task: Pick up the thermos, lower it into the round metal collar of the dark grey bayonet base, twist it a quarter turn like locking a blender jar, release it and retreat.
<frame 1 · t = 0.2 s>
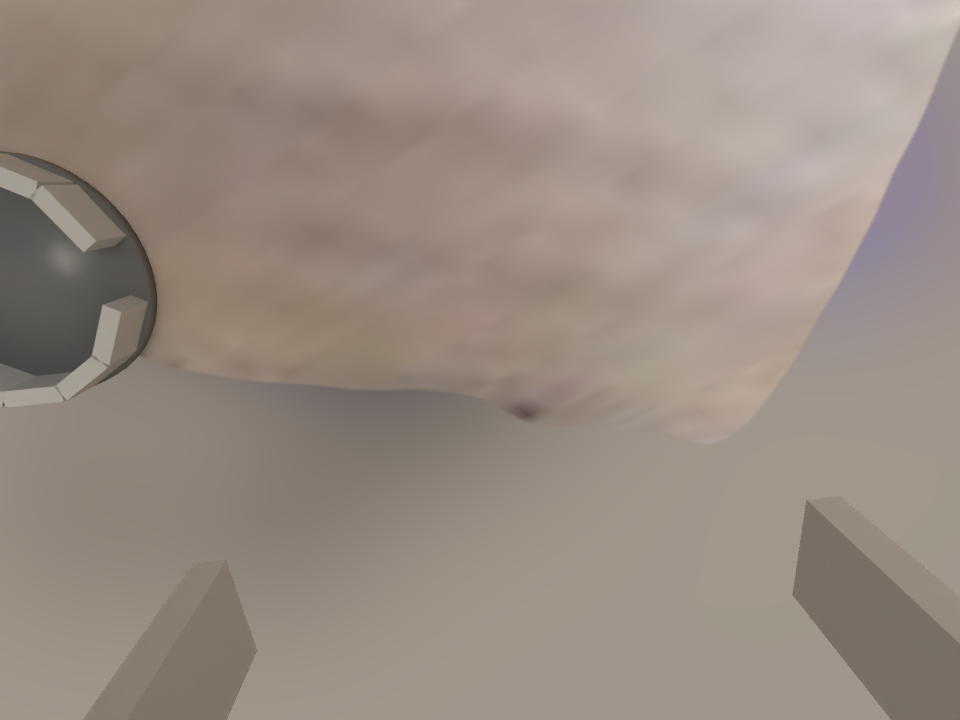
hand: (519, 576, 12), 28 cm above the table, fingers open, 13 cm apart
bayonet base: (34, 278, 36), on the table
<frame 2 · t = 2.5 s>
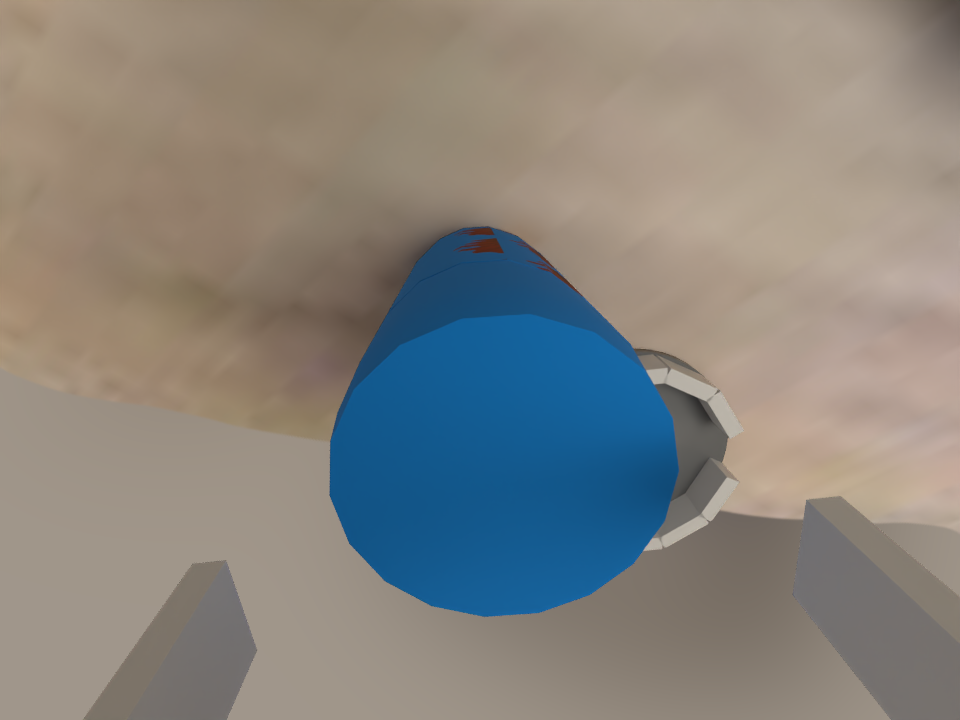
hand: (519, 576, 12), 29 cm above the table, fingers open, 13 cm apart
bayonet base: (623, 442, 43), on the table
thermos: (480, 295, 39), on the table
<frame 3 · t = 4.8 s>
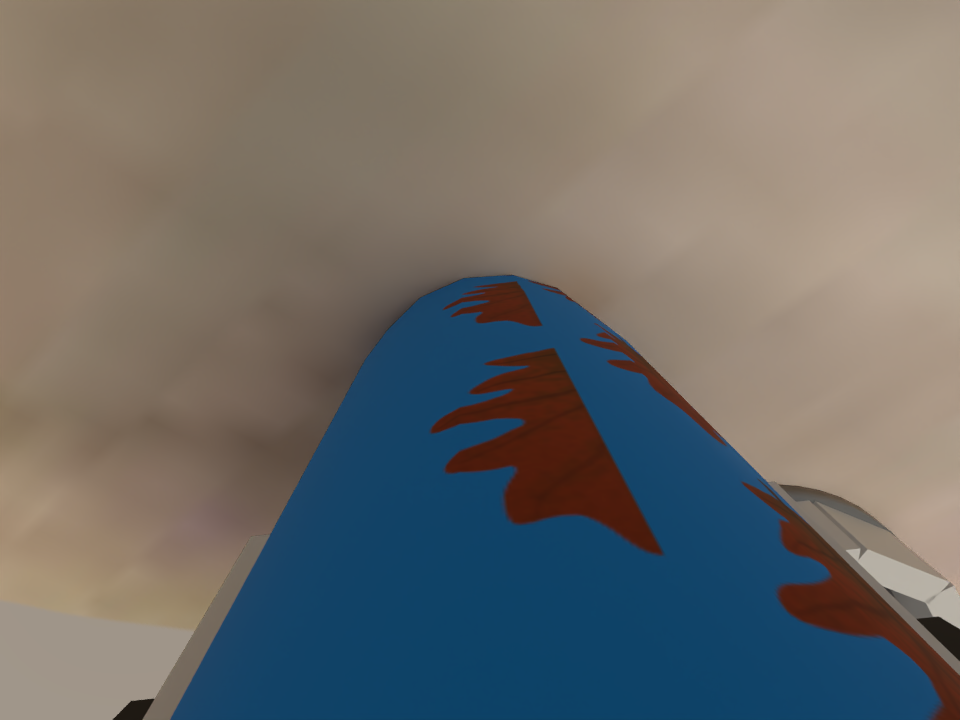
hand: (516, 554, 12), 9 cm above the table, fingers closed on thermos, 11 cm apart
bayonet base: (736, 628, 25), on the table
thermos: (494, 398, 21), on the table, touching gripper
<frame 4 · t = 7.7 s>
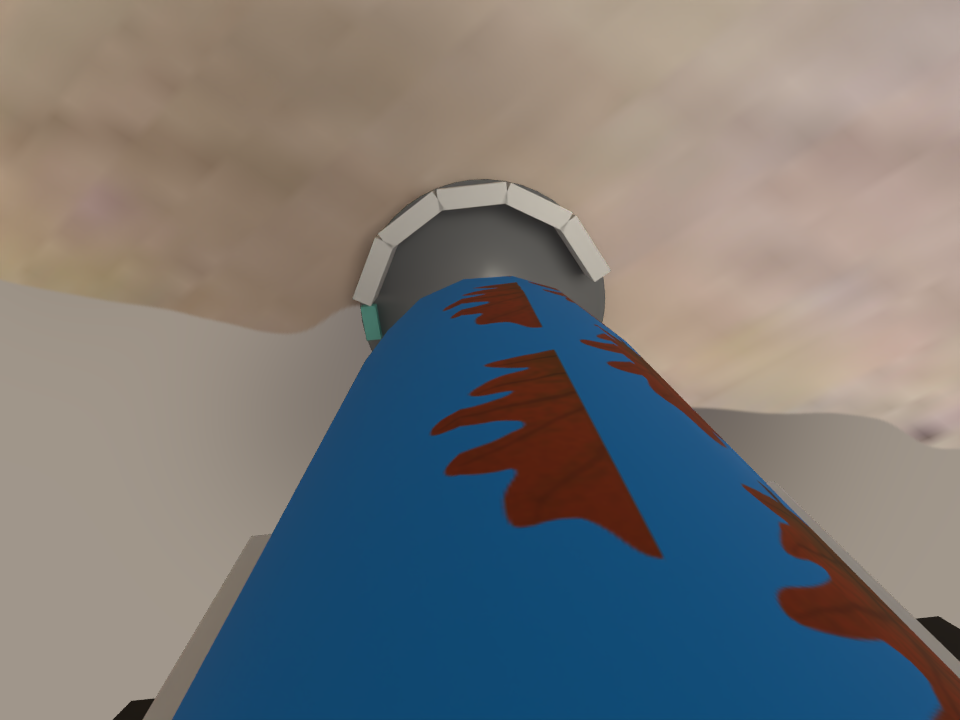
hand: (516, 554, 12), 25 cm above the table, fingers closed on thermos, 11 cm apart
bayonet base: (482, 305, 36), on the table
thermos: (494, 399, 21), point 16 cm above the table, touching gripper
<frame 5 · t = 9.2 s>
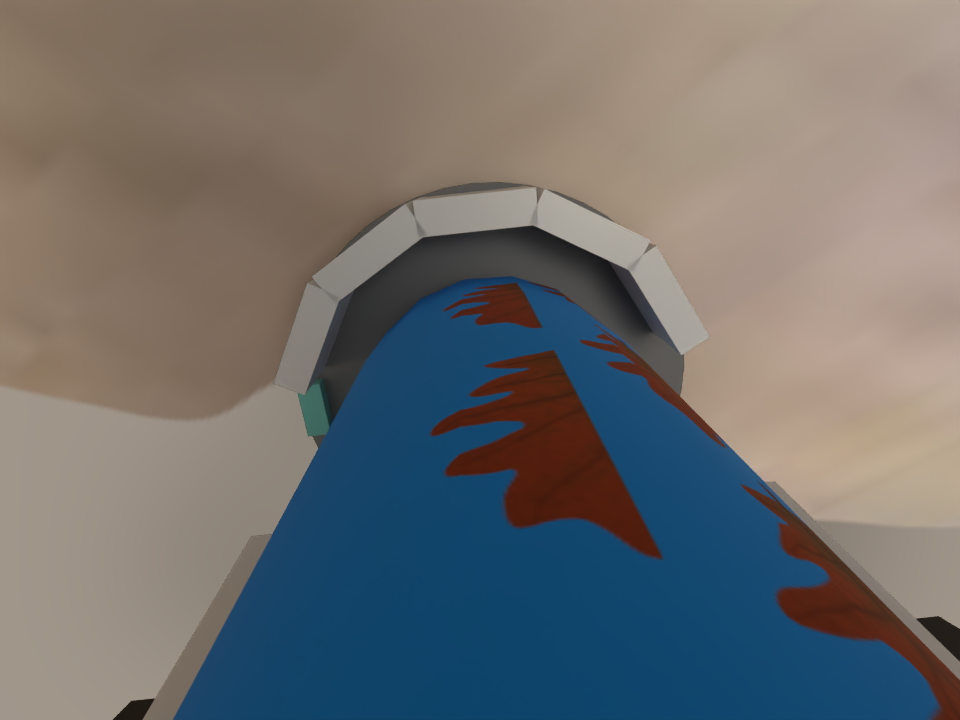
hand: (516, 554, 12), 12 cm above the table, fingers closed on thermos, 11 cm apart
bayonet base: (491, 377, 23), on the table
thermos: (494, 399, 21), point 2 cm above the table, touching gripper
when the fingers open (10 cm above the table, at t = 10.5 s): thermos stays where it is, resting on bayonet base.
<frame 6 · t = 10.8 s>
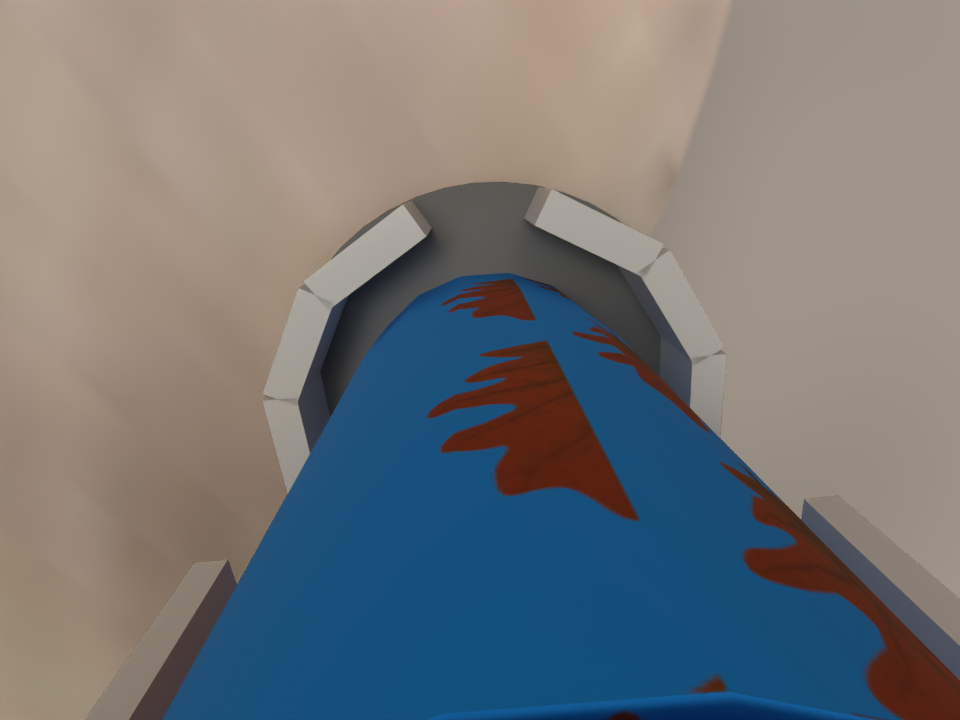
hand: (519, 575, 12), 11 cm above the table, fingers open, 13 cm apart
bayonet base: (492, 386, 22), on the table
thermos: (491, 393, 21), point 1 cm above the table, touching bayonet base
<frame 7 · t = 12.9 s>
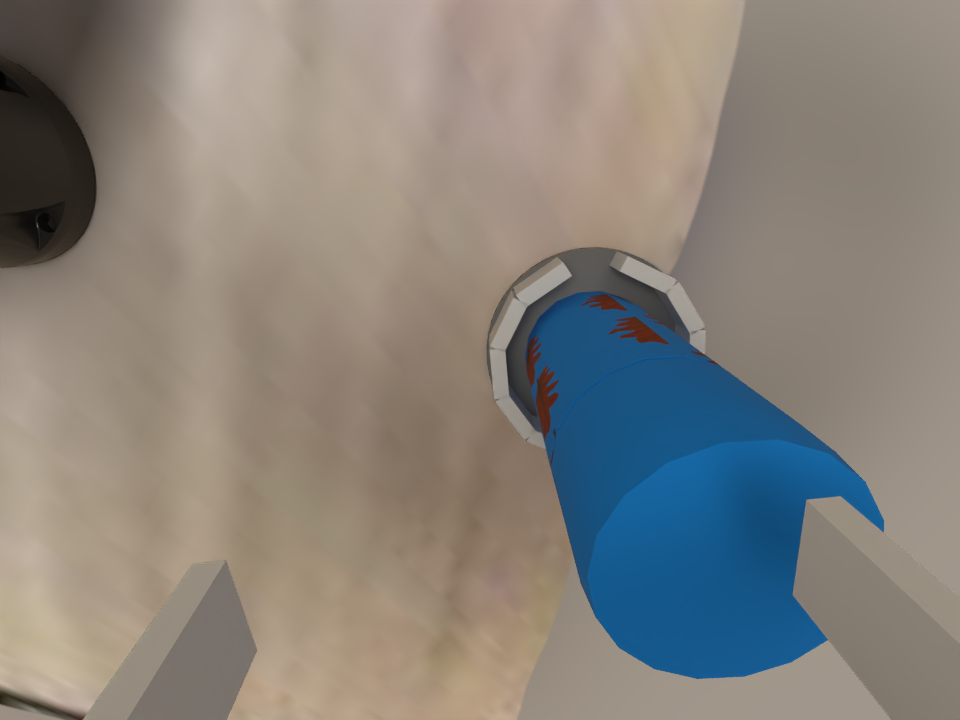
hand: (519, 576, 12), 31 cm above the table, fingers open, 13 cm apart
bayonet base: (587, 349, 42), on the table
thermos: (588, 352, 42), point 1 cm above the table, touching bayonet base
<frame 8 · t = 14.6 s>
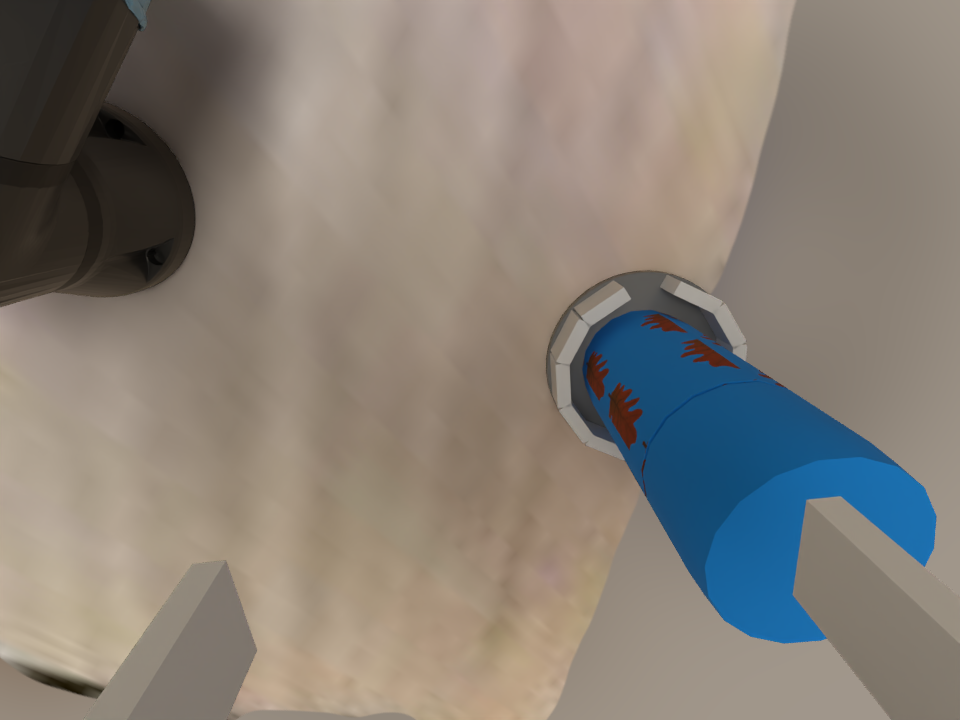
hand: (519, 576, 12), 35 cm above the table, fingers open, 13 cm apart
bayonet base: (636, 360, 47), on the table
thermos: (637, 363, 46), point 1 cm above the table, touching bayonet base
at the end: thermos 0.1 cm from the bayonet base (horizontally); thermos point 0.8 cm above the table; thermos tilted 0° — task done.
